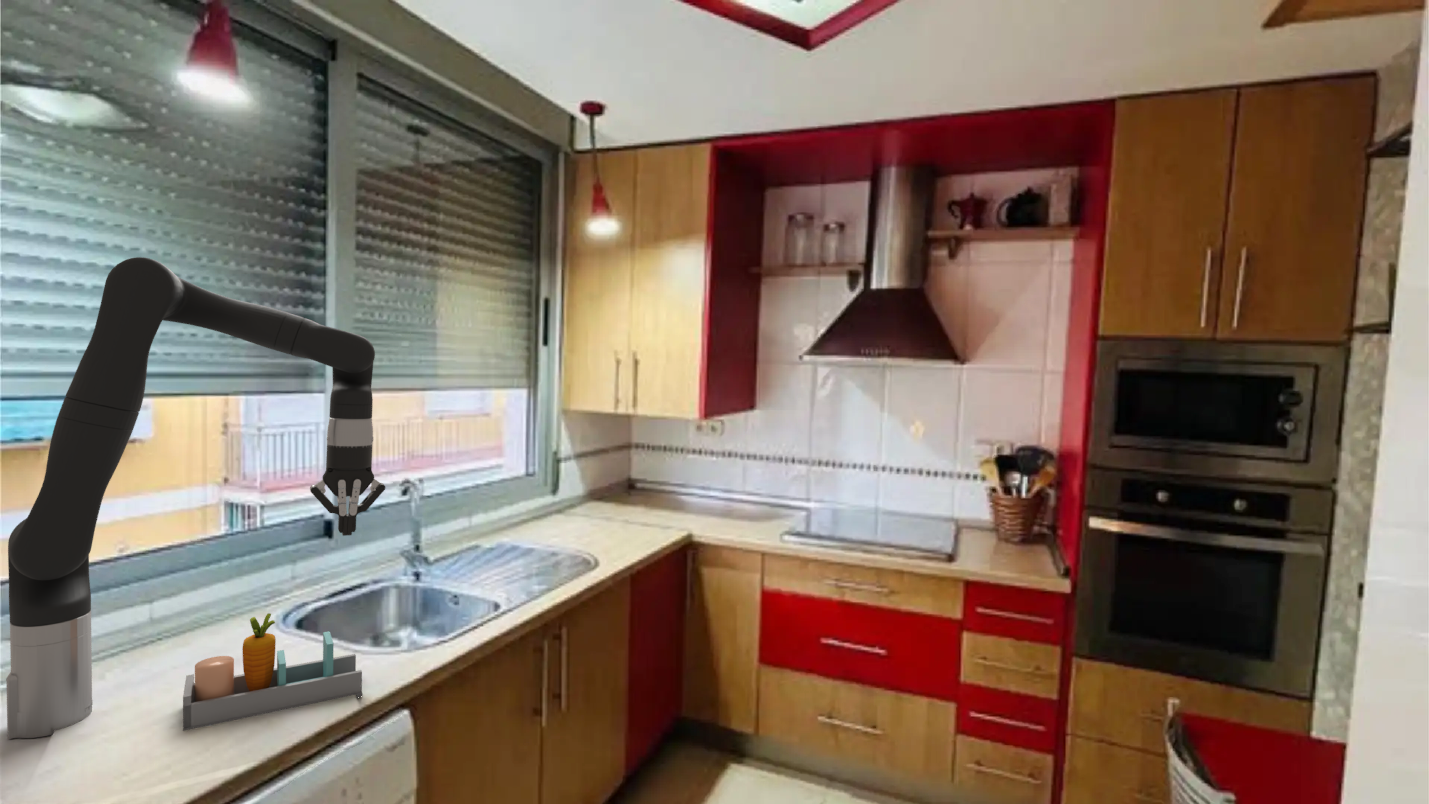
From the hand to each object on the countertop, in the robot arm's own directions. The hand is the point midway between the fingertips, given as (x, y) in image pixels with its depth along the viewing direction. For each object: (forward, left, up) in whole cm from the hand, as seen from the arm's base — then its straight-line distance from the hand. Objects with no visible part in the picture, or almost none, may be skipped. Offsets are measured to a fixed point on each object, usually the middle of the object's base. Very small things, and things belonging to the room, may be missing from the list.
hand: (346, 534), depth 131 cm
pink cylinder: (-20, -8, -25) cm, 33 cm away
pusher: (-7, -8, -25) cm, 27 cm away
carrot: (-14, -8, -25) cm, 30 cm away
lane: (-11, -8, -26) cm, 29 cm away
